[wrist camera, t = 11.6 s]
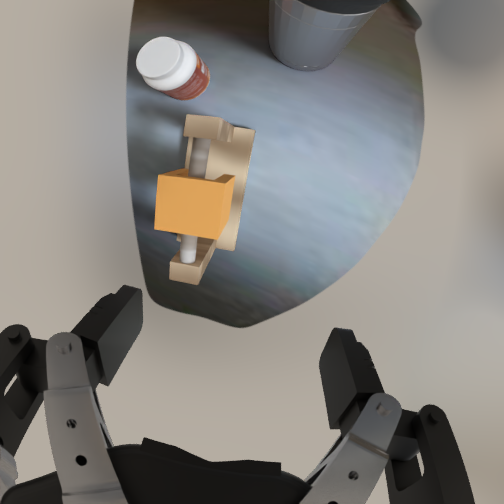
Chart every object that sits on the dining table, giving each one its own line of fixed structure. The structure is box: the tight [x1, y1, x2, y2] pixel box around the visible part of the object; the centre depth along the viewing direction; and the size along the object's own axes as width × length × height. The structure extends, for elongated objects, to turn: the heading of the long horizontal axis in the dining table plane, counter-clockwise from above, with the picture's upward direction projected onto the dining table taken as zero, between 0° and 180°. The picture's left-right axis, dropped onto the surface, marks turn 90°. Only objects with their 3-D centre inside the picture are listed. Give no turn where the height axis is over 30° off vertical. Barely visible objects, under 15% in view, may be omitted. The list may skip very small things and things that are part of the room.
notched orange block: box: [154, 168, 235, 240], centre depth 26 cm, size 5×6×7 cm
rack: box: [169, 114, 255, 285], centre depth 29 cm, size 16×8×12 cm, turn 170°
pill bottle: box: [136, 37, 210, 100], centre depth 25 cm, size 6×6×11 cm
